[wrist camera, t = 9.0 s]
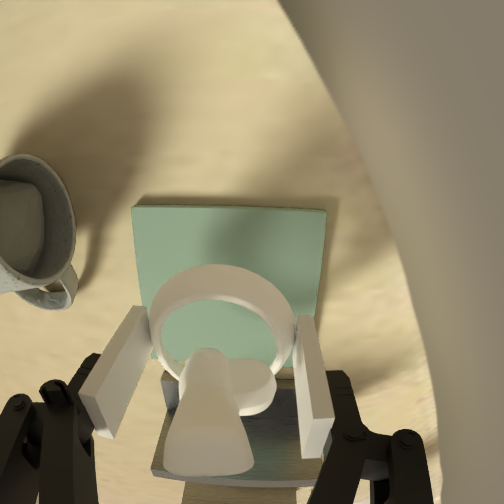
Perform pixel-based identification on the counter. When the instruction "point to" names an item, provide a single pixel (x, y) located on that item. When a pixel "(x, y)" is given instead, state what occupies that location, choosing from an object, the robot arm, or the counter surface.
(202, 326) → the mat
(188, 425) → the white curved piece
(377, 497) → the robot arm
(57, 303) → the ceramic mug
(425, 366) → the counter surface
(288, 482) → the dark grey bookends
